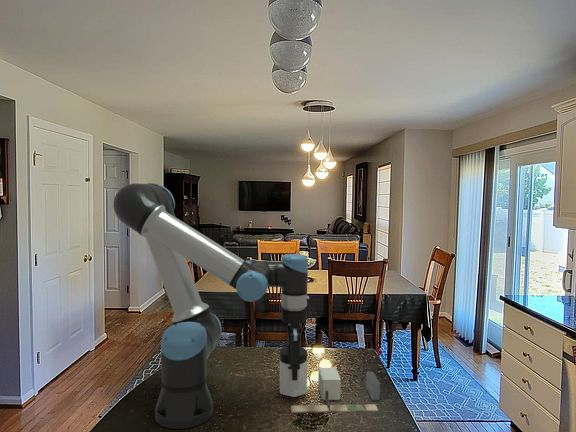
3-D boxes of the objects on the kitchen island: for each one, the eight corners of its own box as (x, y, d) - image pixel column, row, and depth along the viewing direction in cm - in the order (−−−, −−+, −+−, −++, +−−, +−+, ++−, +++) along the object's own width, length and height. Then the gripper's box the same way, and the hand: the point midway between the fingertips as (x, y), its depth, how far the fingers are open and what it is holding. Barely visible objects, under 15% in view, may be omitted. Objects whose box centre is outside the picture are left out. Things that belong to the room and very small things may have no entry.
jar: (287, 400, 118) (288, 358, 118) (272, 388, 125) (273, 349, 124) (313, 391, 123) (314, 352, 122) (297, 381, 130) (298, 343, 129)
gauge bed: (291, 412, 114) (291, 411, 114) (290, 407, 117) (290, 405, 117) (378, 411, 116) (378, 409, 116) (375, 405, 119) (375, 404, 119)
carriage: (323, 408, 116) (324, 387, 116) (318, 386, 129) (318, 367, 128) (343, 408, 116) (343, 387, 116) (335, 386, 129) (336, 367, 129)
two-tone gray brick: (372, 400, 122) (373, 383, 121) (366, 387, 130) (366, 371, 129) (379, 400, 122) (379, 383, 121) (372, 387, 130) (372, 371, 129)
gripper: (310, 318, 112) (309, 400, 114) (303, 297, 134) (302, 366, 135) (282, 318, 112) (281, 400, 113) (280, 297, 133) (279, 366, 135)
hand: (292, 382), depth 124 cm, fingers closed on jar, 9 cm apart
